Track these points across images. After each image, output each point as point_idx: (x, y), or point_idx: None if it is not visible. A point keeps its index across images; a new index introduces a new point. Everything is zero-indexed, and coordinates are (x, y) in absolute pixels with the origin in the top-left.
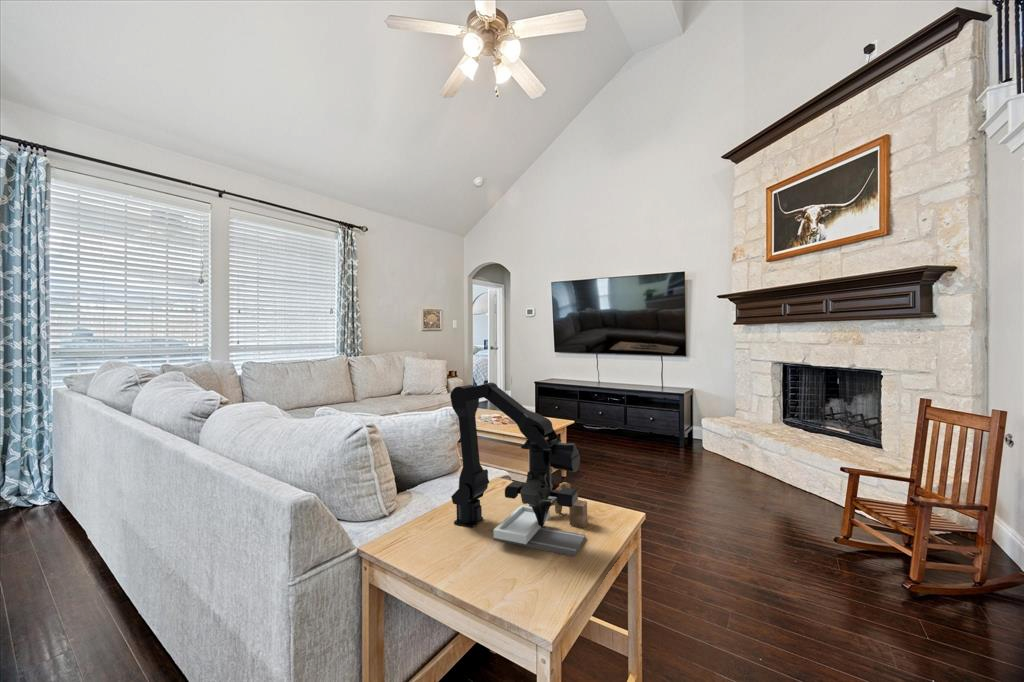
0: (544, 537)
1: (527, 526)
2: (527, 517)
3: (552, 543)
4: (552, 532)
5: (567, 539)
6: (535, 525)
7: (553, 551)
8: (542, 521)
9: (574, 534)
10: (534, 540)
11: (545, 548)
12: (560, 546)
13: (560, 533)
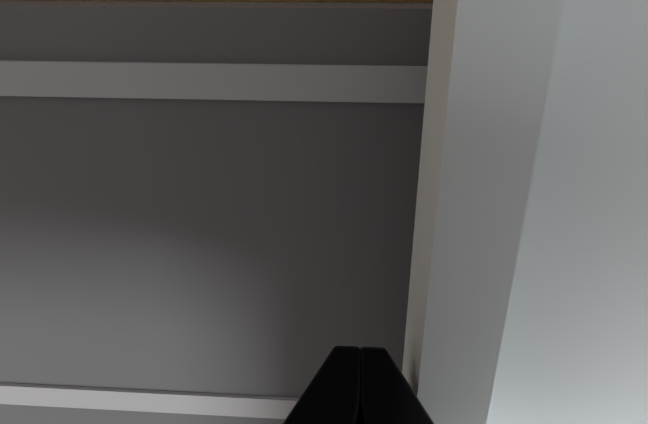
0: (316, 254)
1: (601, 292)
2: None
3: (152, 144)
4: (274, 382)
5: (44, 293)
6: (430, 284)
7: (88, 2)
8: (309, 403)
9: (33, 400)
10: (417, 136)
11: (199, 6)
12: (11, 97)
13: (182, 385)
